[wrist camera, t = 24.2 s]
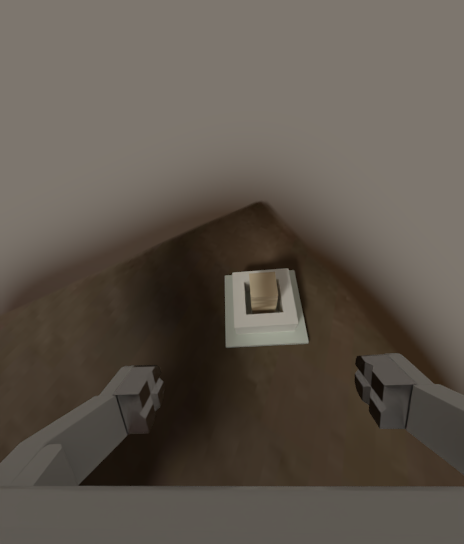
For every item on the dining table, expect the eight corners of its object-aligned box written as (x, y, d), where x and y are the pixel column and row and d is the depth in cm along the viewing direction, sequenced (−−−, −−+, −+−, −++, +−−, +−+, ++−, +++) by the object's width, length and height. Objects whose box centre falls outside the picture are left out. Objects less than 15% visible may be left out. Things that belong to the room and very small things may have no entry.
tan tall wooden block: (252, 316, 39) (250, 297, 31) (250, 296, 41) (248, 273, 33) (274, 315, 39) (278, 295, 31) (272, 294, 41) (274, 271, 33)
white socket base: (226, 347, 38) (221, 341, 33) (225, 277, 45) (221, 264, 40) (307, 343, 37) (314, 336, 32) (293, 272, 44) (297, 257, 39)
